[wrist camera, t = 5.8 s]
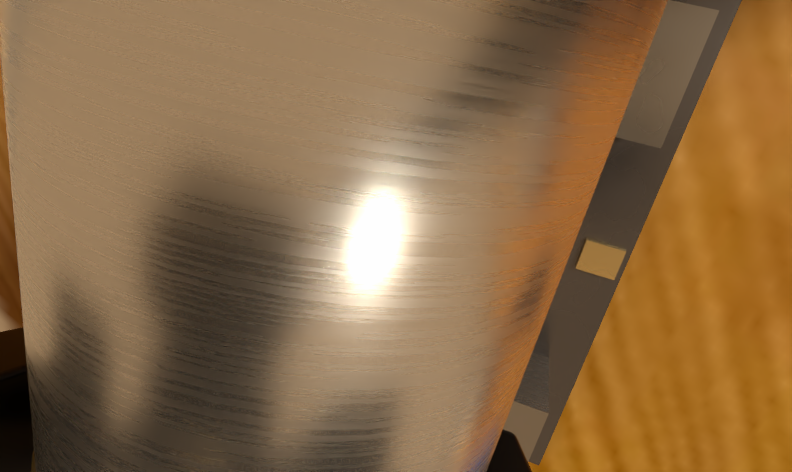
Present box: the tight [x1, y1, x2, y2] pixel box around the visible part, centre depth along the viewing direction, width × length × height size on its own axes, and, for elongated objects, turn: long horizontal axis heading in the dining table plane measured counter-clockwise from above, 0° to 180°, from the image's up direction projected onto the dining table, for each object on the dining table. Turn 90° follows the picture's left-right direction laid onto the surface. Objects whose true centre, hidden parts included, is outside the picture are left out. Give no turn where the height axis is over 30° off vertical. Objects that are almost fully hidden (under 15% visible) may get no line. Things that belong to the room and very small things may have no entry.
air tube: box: [0, 0, 668, 472], centre depth 7 cm, size 5×16×5 cm, turn 167°
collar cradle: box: [503, 0, 742, 465], centre depth 16 cm, size 12×17×4 cm
